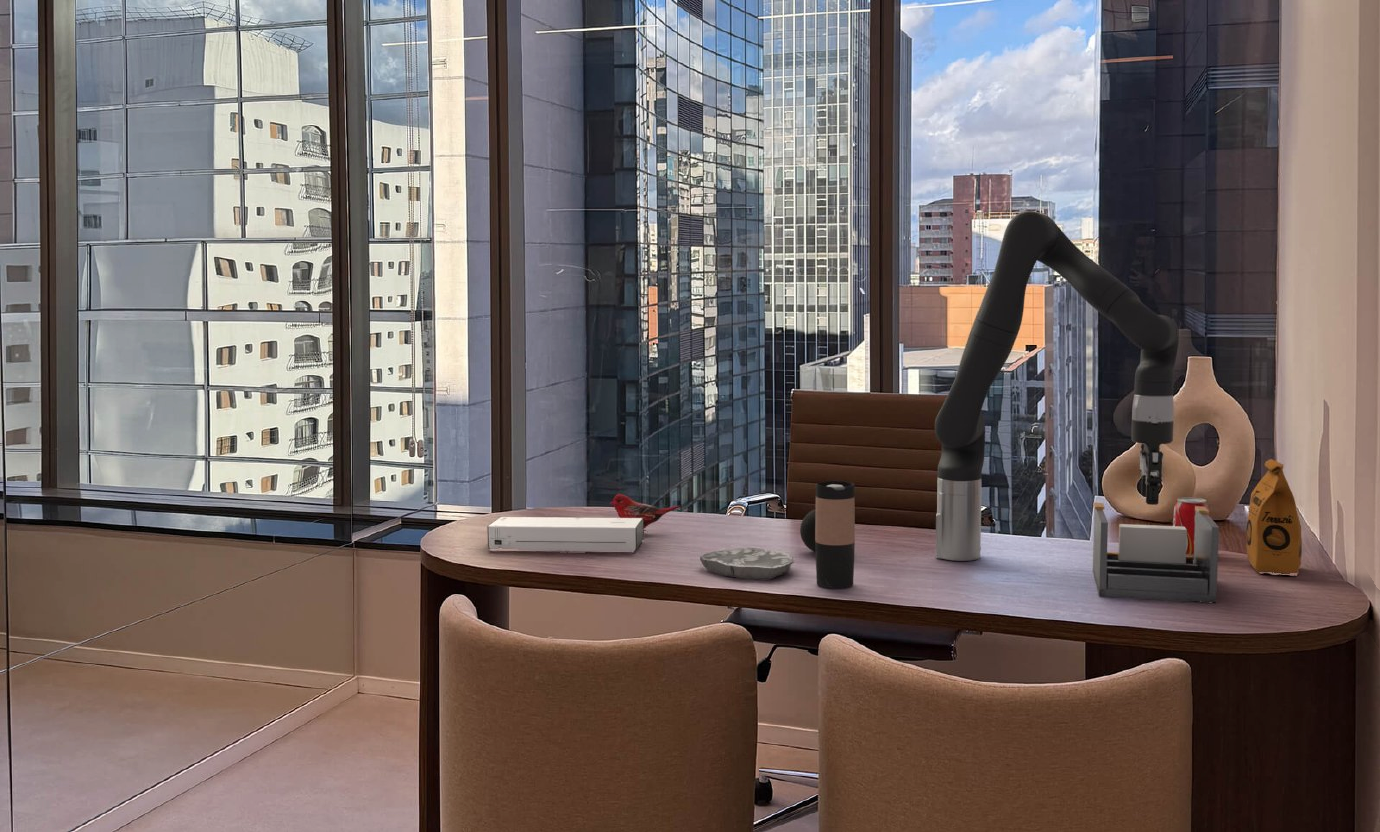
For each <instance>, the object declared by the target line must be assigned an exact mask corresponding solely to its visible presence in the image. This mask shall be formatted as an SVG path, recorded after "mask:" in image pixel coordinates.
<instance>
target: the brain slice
mask: <svg viewBox="0 0 1380 832" xmlns="http://www.w3.org/2000/svg"><path fill="white" fill-rule="evenodd" d="M699 560H700V562H701V564H702V566H703V567H704V568H706V569H707V570H708V572H710V571H711V572H710V573H713V572H715V573H714V574H717V573H718V575H720V576H724V577H731V578H737V579H742V578H753V579H752V580H764V579H768V580H773V579H775V578H776V577H780V576H781V575H786V574H787V573H788V572H789V570H790V569H791V565H793V564H794V562H795V560H794V559H793V557H792V555H790V554H788V552H785V551H782V550H779V549H769V550H766V549H763V548H758V547H750V548H749V547H748V548H733V549H726V550H718V551H712V552H707V553H705V554H703V555H701V556H699Z"/></svg>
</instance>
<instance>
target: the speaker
mask: <svg viewBox="0 0 1380 832" xmlns="http://www.w3.org/2000/svg"><path fill="white" fill-rule="evenodd" d="M815 523H816V508H815V509H813V510H811V511H809V512H808V513H806V515H805V516H804V517H803V519H802V520H801V523H800V527H799V529H800V531H799V533H800V539H801V540H802V542H803V544H804V545H805V546H806V548H808V549H809V550H811V552H815V553H816V546H815V542H816V541H815Z"/></svg>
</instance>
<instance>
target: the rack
mask: <svg viewBox="0 0 1380 832" xmlns="http://www.w3.org/2000/svg"><path fill="white" fill-rule="evenodd" d="M1105 508H1106V507H1105V505H1104V502H1093V509H1094V510H1093V513H1094V514H1093V542H1092V543H1093V547H1092V548H1093V549H1092V550H1093V551H1092V552H1093V554H1092V574H1093V577H1094V581H1095V586H1096V591H1097V592H1098V593H1097V594H1098V597H1099V598H1100V597H1101V598H1103V597H1104V598H1105V597H1106V598H1117V597H1119V598H1121V599H1135V600H1136V599H1138V600H1151V601H1152V600H1153V601H1155V600H1156V601H1168V600H1169V601H1170V602H1174V601H1175V602H1185V601H1198V602H1197V603H1201V602H1216V603H1217V594H1218V590H1217V589H1218V566H1219V564H1218V563H1219V542H1220V540H1219V537H1220V526H1218V524H1217V523H1216V522H1215V521H1214V520H1213V518H1212V517H1211V516H1210V509H1209V510H1208V509H1207V508H1206V507H1201V506H1195V536H1194V557H1193V556H1186V564H1184V563H1164V562H1144V561H1124V560H1118V553H1119V551H1108V538H1109V537H1108V536H1109V535H1108V534H1109V533H1108V532H1109V521H1108V520H1107V516H1106V514H1105V511H1104V510H1105ZM1207 513H1209V515H1208V514H1207ZM1169 601H1168V602H1169ZM1199 601H1201V602H1199Z"/></svg>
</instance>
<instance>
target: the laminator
mask: <svg viewBox="0 0 1380 832" xmlns="http://www.w3.org/2000/svg"><path fill="white" fill-rule="evenodd" d="M486 530H487V548H488V550H489V549H499V548H502V549H518V550H562V551H565V550H570V551H630V552H632V551H633V552H635V553H636V552H637V549H638V548H639V547H640V545H641V543H642V542H643V541H644V538H645V537H644V536H645V533H644V530H645V528H644V520H643V518H620V517H558V516H557V517H556V516H555V517H550V516H549V517H545V516H544V517H543V516H542V517H541V516H538V517H537V516H533V517H532V516H531V517H530V516H529V517H528V516H527V517H525V516H522V517H521V516H500V517H498V518H497V519H495V520H494V521H493V522H491V523H490V524H489V525H487V529H486ZM642 540H643V541H642Z"/></svg>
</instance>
